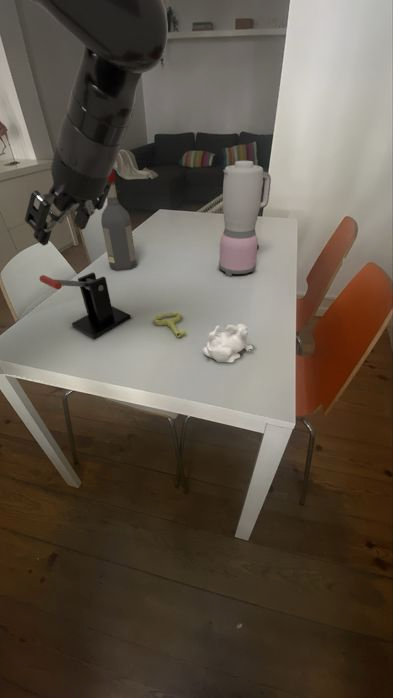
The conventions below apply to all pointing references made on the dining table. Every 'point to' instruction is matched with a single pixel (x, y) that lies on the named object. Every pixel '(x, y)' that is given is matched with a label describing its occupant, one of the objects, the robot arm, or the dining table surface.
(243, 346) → the rabbit figurine
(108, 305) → the switch bracket
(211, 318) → the dining table surface
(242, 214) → the blender
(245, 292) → the dining table surface
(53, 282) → the lever
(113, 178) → the liquor
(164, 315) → the key
